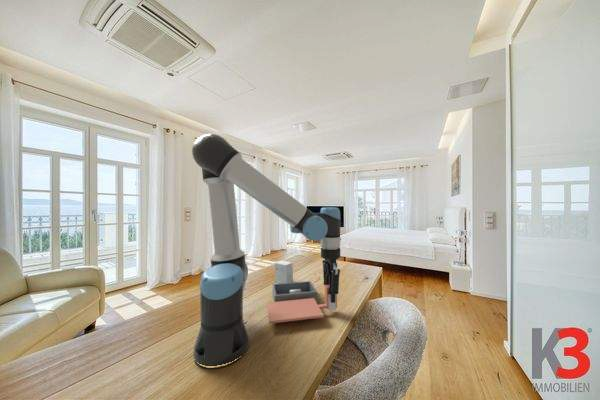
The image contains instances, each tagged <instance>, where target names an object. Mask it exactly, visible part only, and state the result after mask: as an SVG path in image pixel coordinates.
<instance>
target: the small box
mask: <svg viewBox="0 0 600 400" xmlns="http://www.w3.org/2000/svg"><path fill="white" fill-rule="evenodd" d="M293 271H294V269H293V262H292V261H285V260H278V261H276V262H274V283H275V284H281V283H293V282H294V275H293V274H294V273H293Z"/></svg>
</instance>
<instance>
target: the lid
mask: <svg viewBox="0 0 600 400" xmlns="http://www.w3.org/2000/svg"><path fill="white" fill-rule="evenodd" d="M328 292H329V285H324V303H323V304H322V303H321V304H320V303H319V304H318V301H317V302H316V301H315V299H314V298H309V299H299V300H289V301H279V302H274V301H272V302H271V301H270V302H267V313H268V322H269V323H268V324H277V323H278V324H279V323H285V322H295V321H303V320H311V319H320V318H324V316H325V315H324V313H323V311H322V309H328ZM337 308H338V294H336V309H337Z"/></svg>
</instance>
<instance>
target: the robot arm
mask: <svg viewBox="0 0 600 400" xmlns="http://www.w3.org/2000/svg"><path fill="white" fill-rule="evenodd" d="M191 148H192V149H191V154H192V159H193V160H194V161H195V163H196V164H197V166H199V167H200V168H201V176H202V181H203V182H204V183H205V184H206V185H207V187H208V195H209V196H208V197H209V206H210V218H211V228H212V236H213V249H214V253H213V254H212V256H211V257H210V267H208V268H207V269H206V270H204V271H203V273H202V274H201V278H200V282H199V291H200V292H199V293H200V328H199V330H198V333H197V337H196V339H195V343H194V347H193V360H194V359H195V360H194V362H195V361H196V362H198V363H199V364H202V365H205V366H217V365H222V364H226V363H229V362H232V361H234V360H235V359H237V358H239V357H240V356H242V355H243V354H244V353H245V352H246V353H247V351H248V349H249V345H250V344H249V343H250V339H249V337H250V336H249V333H248V330H247V327H246V324H245V321H244V318H243V317H244V315H243V314H244V312H243V311H244V309H243V308H244V307H243V306H244V303H243V302H244V291H245V290H244V289H245V285H246V283H247V282H246V280H247V279H248V274H249V270H248V264H247V262H246V256H245V255H246V254H245V251H244V250H242V249H241V246H240V237H239V236H240V235H239V226H238V225H239V224H238V216H237V215H238V214H237V213H238V212H237V204H236V196H235V195H236V194H235V186H236V187H238V188H239V189H240V190H242V191H243V192H244V193H246V194H247V195H248V196H249V197H251V198H253V199H254V200H255V201H257V202H258V203H259V204H261V205H262V206H263V207H265V208H266V209H267V210H268V211H270V212H271V213H272V214H275V215H276V216H277V217H278V218H280V219H281V220H282V221H284V222H285V223H286V224H288V225H289V229H290V232H291V233H293V234H302V236H304V237H305V238H306V239H307V240H309V241H313V242H319V241H320V247H321V248H320V257H321V259H323V260H322V261H321V262H322V272H323V274H322V275H323V276H322V277H323V285H324V286H325V285H329V292H328V311H330V312H331V311H336V310H337V308H336V294H337V295H339V290H340V289H339V288H340V287H339V286H340V285H339V283H340V275H341V274H340V273H341V269H340V268H338V263H337V260H338V259H340V258H341V248H340V247H341V241H342V238H341V211H340V208H339V207H332V206H331V207H321V208H320V211H319V212H313V211H312V210H311V209H308V207H306V206H305V205H304V204H303V203H301V202H300V201H298V200H297V199H296V198H294V197H293V196H292V195H291V194H289V193H288V192H287V191H285V190H284V189H283V188H281V187H280V185H278V184H276V183H275V182H273V181H272V180H271V179H269V178H268V177H267V176H266V175H264V174H262V173H261V172H260V171H259V170H258V169H256V168H255V167H254V166H252V164H249V162H247V161H246V160H244V159H243V157H242V153H241V152H240V151H238V150H237V149H236V148H234V147H233V146H232V145H231V144H230V143H229V142H228V141H227V140H226V139H225V138H224V137H222V136H221V135H219V134H214V133H206V134H203V135H201V136H200V137H198V138H197V139H196V140H194V143H193V144H192V147H191ZM246 353H245V354H246ZM245 354H244V355H245ZM244 355H243V356H244ZM243 356H242V357H243ZM196 362H195V363H196Z"/></svg>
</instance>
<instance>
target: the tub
mask: <svg viewBox="0 0 600 400" xmlns="http://www.w3.org/2000/svg"><path fill="white" fill-rule="evenodd" d="M309 298H314V299H315V301H316V302H317V303H318V290H317V289H316V287H315V285H314V284H313V283H312V281H311V280H307V281H306V280H305V281H295V282H294V281H293V282H291V283H281V284H280V283H272V299H273V301H272V302H279V301H289V300H299V299H309Z"/></svg>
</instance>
